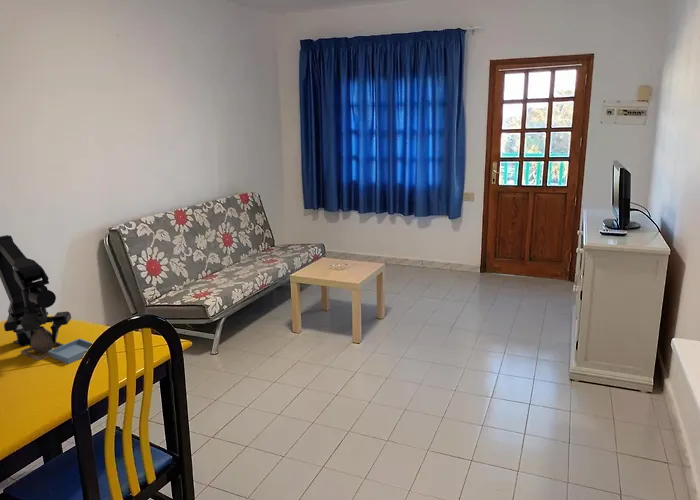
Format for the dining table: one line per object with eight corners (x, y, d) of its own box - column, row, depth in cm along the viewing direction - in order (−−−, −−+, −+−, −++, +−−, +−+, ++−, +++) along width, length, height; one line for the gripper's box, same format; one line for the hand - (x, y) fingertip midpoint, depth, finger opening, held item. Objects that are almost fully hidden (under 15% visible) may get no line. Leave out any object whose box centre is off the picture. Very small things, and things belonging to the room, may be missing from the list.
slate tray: (49, 356, 172) (48, 351, 172) (80, 343, 181) (79, 338, 181) (68, 364, 166) (67, 358, 166) (99, 350, 176) (98, 344, 175)
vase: (45, 356, 172) (40, 332, 170) (27, 355, 173) (22, 331, 171) (60, 347, 179) (56, 323, 176) (43, 346, 180) (38, 322, 178)
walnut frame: (21, 354, 174) (20, 350, 174) (50, 342, 183) (50, 339, 182) (37, 360, 169) (37, 357, 169) (67, 348, 178) (66, 345, 177)
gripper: (-8, 313, 162) (2, 358, 166) (58, 306, 166) (66, 351, 170) (6, 301, 172) (15, 344, 176) (67, 295, 176) (75, 337, 180)
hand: (43, 344), depth 175 cm, fingers closed on vase, 7 cm apart
